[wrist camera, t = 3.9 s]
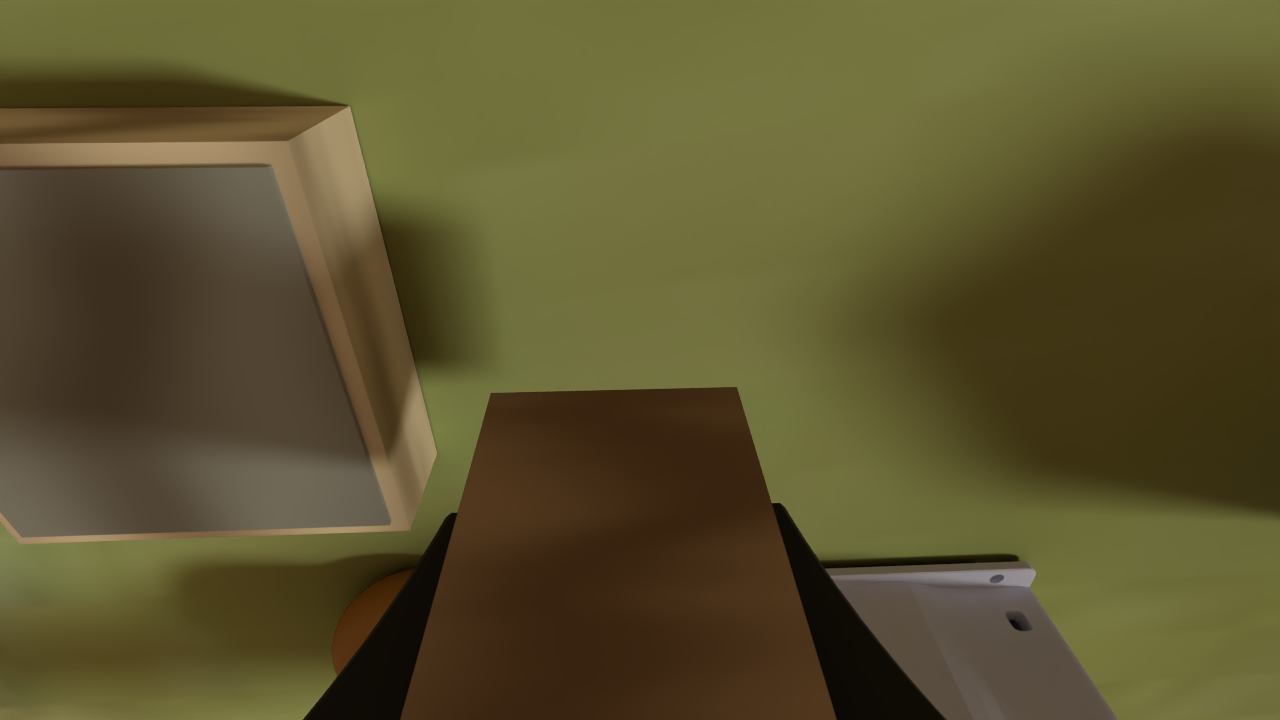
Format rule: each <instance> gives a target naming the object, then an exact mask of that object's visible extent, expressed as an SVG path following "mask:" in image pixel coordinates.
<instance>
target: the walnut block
mask: <svg viewBox="0 0 1280 720" xmlns="http://www.w3.org/2000/svg"><path fill="white" fill-rule="evenodd" d="M400 720H837V719H836V716H835V713H834V709H833V706H832V703H831V699H830V696H829V693H828V689H827V686H826V683H825V679H824V676H823V673H822V669H821V666H820V663H819V659H818V656H817V653H816V649H815V646H814V643H813V639H812V636H811V633H810V629H809V626H808V623H807V619H806V616H805V613H804V609H803V606H802V603H801V599H800V596H799V593H798V589H797V586H796V583H795V579H794V576H793V573H792V569H791V566H790V563H789V559H788V556H787V553H786V549H785V546H784V543H783V539H782V536H781V533H780V529H779V526H778V523H777V519H776V516H775V513H774V509H773V506H772V503H771V500H770V496H769V493H768V490H767V486H766V483H765V480H764V476H763V473H762V470H761V466H760V463H759V460H758V456H757V453H756V450H755V446H754V443H753V440H752V436H751V433H750V430H749V426H748V423H747V420H746V416H745V413H744V410H743V406H742V403H741V400H740V396H739V393H738V390H737V387H721V388H680V389H639V390H598V391H557V392H516V393H491V395H490V398H489V402H488V406H487V409H486V413H485V416H484V420H483V423H482V427H481V431H480V434H479V438H478V441H477V445H476V449H475V452H474V456H473V459H472V463H471V467H470V470H469V474H468V477H467V481H466V485H465V488H464V492H463V495H462V499H461V503H460V506H459V510H458V513H457V517H456V521H455V524H454V528H453V531H452V535H451V539H450V542H449V546H448V549H447V553H446V557H445V560H444V564H443V567H442V571H441V575H440V578H439V582H438V585H437V589H436V593H435V596H434V600H433V603H432V607H431V611H430V614H429V618H428V621H427V625H426V629H425V632H424V636H423V639H422V643H421V647H420V650H419V654H418V657H417V661H416V665H415V668H414V672H413V675H412V679H411V683H410V686H409V690H408V693H407V697H406V701H405V704H404V708H403V711H402V715H401V719H400Z"/></svg>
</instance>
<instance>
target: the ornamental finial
mask: <svg viewBox="0 0 1280 720" xmlns="http://www.w3.org/2000/svg"><path fill="white" fill-rule="evenodd" d="M414 569H415V568H414ZM414 569H409V570H405V571H401V572H398V573H395V574H392V575H390V576H387V577H385V578H383V579H381V580H379V581H377V582H375V583H374V584H372V585H371V586H369V587H368V588H366V589H365V590H364V591H362V592H361V593H360V594H359V595H358V596H357V597H356V598H355V599H354V600H353V601H352V602H351V603H350V605H349V606H348V607H347V609H346V610H345V612H344V613H343V615H342V617H341V618H340V620H339V622H338V625H337V628H336V630H335V634H334V638H333V646H332V656H333V663H334V668H335V671H336V674H337V676H338V675H339V674H340V673H341V671H342V670H343V669H344V667H345V666H346V665H347V663H348V662H349V661H350V659H351V658H352V657H353V655H354V654H355V653H356V652H357V650H358V649H359V648H360V646H361V645H362V644H363V642H364V641H365V640H366V638H367V637H368V636H369V634H370V633H371V631H372V630H373V629H374V627H375V626H376V624H377V623H378V621H379V620H380V619H381V617H382V616H383V614H384V613H385V611H386V610H387V609H388V607H389V606H390V604H391V603H392V601H393V600H394V598H395V597H396V596H397V594H398V593H399V591H400V590H401V588H402V587H403V585H404V584H405V582H406V581H407V579H408V578H409V576H410V575H411V573H412V572H413V570H414Z"/></svg>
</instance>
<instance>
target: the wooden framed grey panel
mask: <svg viewBox="0 0 1280 720" xmlns="http://www.w3.org/2000/svg"><path fill="white" fill-rule="evenodd" d="M436 455H437V451H436V447H435V443H434V439H433V435H432V431H431V427H430V423H429V419H428V415H427V411H426V407H425V403H424V399H423V395H422V391H421V387H420V383H419V379H418V375H417V371H416V368H415V364H414V360H413V356H412V352H411V348H410V344H409V340H408V336H407V332H406V328H405V324H404V320H403V316H402V312H401V308H400V304H399V300H398V296H397V292H396V288H395V284H394V280H393V276H392V272H391V268H390V264H389V260H388V256H387V252H386V248H385V244H384V240H383V236H382V232H381V228H380V224H379V220H378V216H377V212H376V208H375V204H374V200H373V197H372V193H371V189H370V185H369V181H368V177H367V173H366V169H365V165H364V161H363V157H362V153H361V149H360V145H359V141H358V137H357V133H356V129H355V125H354V121H353V117H352V113H351V109H350V106H265V107H125V108H0V522H1V523H2V524H3V525H4V527H5V528H6V529H7V530H8V531H9V532H10V534H11V535H12V536H13V537H14V538H15V539H16V540H17V542H18V543H19V544H27V543H57V542H87V541H116V540H146V539H176V538H205V537H235V536H265V535H295V534H324V533H354V532H384V531H410V530H411V527H412V524H413V521H414V518H415V515H416V513H417V510H418V507H419V504H420V501H421V498H422V495H423V492H424V489H425V487H426V484H427V481H428V478H429V475H430V472H431V469H432V466H433V463H434V461H435V458H436Z"/></svg>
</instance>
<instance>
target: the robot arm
mask: <svg viewBox="0 0 1280 720" xmlns="http://www.w3.org/2000/svg"><path fill="white" fill-rule="evenodd" d="M772 506H773V509H774V513H775V516H776V519H777V523H778V526H779V529H780V533H781V536H782V539H783V543H784V546H785V549H786V553H787V556H788V559H789V563H790V566H791V569H792V573H793V576H794V579H795V583H796V586H797V589H798V593H799V596H800V599H801V603H802V606H803V609H804V613H805V616H806V619H807V623H808V626H809V629H810V633H811V636H812V639H813V643H814V646H815V649H816V653H817V656H818V659H819V663H820V666H821V669H822V673H823V676H824V679H825V683H826V686H827V689H828V693H829V696H830V699H831V703H832V706H833V709H834V713H835V716H836V719H837V720H1118V718H1117V717H1116V715H1115V714H1114V712H1113V711H1112V709H1111V708H1110V706H1109V705H1108V703H1107V702H1106V700H1105V699H1104V697H1103V696H1102V694H1101V693H1100V691H1099V690H1098V688H1097V687H1096V686H1095V684H1094V683H1093V681H1092V680H1091V678H1090V677H1089V675H1088V674H1087V672H1086V671H1085V669H1084V668H1083V666H1082V665H1081V663H1080V662H1079V660H1078V659H1077V657H1076V656H1075V654H1074V653H1073V651H1072V650H1071V648H1070V647H1069V645H1068V644H1067V642H1066V641H1065V639H1064V638H1063V636H1062V635H1061V633H1060V632H1059V630H1058V629H1057V627H1056V626H1055V624H1054V623H1053V621H1052V620H1051V618H1050V617H1049V615H1048V614H1047V613H1046V611H1045V610H1044V608H1043V607H1042V605H1041V604H1040V602H1039V601H1038V599H1037V598H1036V596H1035V595H1034V593H1033V592H1032V590H1031V589H1030V585H1031V583H1032V581H1033V580H1034V578H1035V575H1036V572H1035V570H1034V569H1033V567H1032V566H1031V564H1030V563H1028V562H1023V561H1016V562H989V563H962V564H935V565H908V566H881V567H854V568H827V569H825V568H824V567H823V565H822V564H821V562H820V561H819V560H818V558H817V557H816V555H815V554H814V552H813V551H812V549H811V548H810V546H809V545H808V543H807V542H806V540H805V539H804V537H803V536H802V534H801V532H800V531H799V529H798V528H797V526H796V525H795V523H794V521H793V520H792V518H791V517H790V515H789V513H788V512H787V510H786V508H785V507H784V506H783V505H782V504H780V503H772ZM456 517H457V513H451V514H450V515H448V516H447V517H446V518H445V520H444V521H443V523H442V525H441V527H440V528H439V530H438V532H437V533H436V535H435V537H434V538H433V540H432V542H431V543H430V545H429V546H428V548H427V550H426V551H425V553H424V554H423V556H422V558H421V559H420V561H419V562H418V564H417V565H416V567H415V569H414V570H413V572H412V573H411V575H410V576H409V578H408V579H407V581H406V582H405V584H404V585H403V587H402V588H401V590H400V591H399V593H398V594H397V596H396V597H395V598H394V600H393V601H392V603H391V604H390V606H389V607H388V609H387V610H386V611H385V613H384V614H383V616H382V617H381V619H380V620H379V621H378V623H377V624H376V626H375V627H374V629H373V630H372V631H371V633H370V634H369V636H368V637H367V638H366V640H365V641H364V642H363V644H362V645H361V646H360V648H359V649H358V650H357V652H356V653H355V654H354V655H353V657H352V658H351V659H350V661H349V662H348V663H347V665H346V666H345V667H344V669H343V670H342V671H341V673H340V674H339V675H338V676H337V678H336V679H335V680H334V682H333V683H332V684H331V686H330V687H329V688H328V689H327V691H326V692H325V693H324V694H323V696H322V697H321V698H320V699H319V701H318V702H317V703H316V704H315V706H314V707H313V708H312V709H311V710H310V712H309V713H308V714H307V715H306V717H305V718H304V719H303V720H400V719H401V715H402V711H403V708H404V704H405V701H406V697H407V693H408V690H409V686H410V683H411V679H412V675H413V672H414V668H415V665H416V661H417V657H418V654H419V650H420V647H421V643H422V639H423V636H424V632H425V629H426V625H427V621H428V618H429V614H430V611H431V607H432V603H433V600H434V596H435V593H436V589H437V585H438V582H439V578H440V575H441V571H442V567H443V564H444V560H445V557H446V553H447V549H448V546H449V542H450V539H451V535H452V531H453V528H454V524H455V521H456Z"/></svg>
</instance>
